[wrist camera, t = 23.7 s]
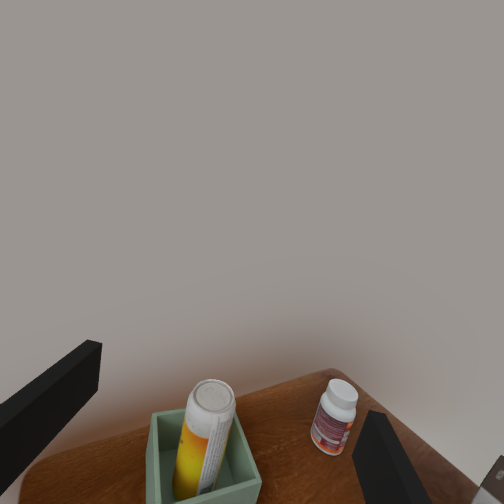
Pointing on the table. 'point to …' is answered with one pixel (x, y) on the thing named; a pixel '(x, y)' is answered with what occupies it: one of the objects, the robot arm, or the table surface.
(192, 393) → the beer can
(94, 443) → the table surface
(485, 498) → the coffee box
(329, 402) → the pill bottle
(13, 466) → the robot arm
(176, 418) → the trash bin
